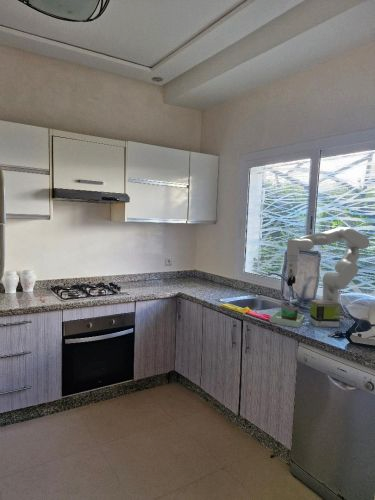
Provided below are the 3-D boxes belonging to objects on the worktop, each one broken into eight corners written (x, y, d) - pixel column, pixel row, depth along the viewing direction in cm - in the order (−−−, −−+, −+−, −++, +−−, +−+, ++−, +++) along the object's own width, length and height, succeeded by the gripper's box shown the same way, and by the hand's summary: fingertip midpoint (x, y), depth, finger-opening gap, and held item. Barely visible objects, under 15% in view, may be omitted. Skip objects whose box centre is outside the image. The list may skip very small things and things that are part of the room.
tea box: (332, 322, 225) (334, 300, 224) (339, 327, 215) (341, 304, 214) (309, 321, 224) (310, 299, 223) (315, 326, 214) (317, 303, 213)
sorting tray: (304, 320, 226) (304, 315, 226) (298, 327, 210) (299, 322, 210) (276, 316, 235) (277, 310, 234) (269, 322, 219) (269, 316, 219)
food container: (275, 319, 223) (276, 304, 222) (280, 317, 228) (281, 302, 227) (293, 324, 215) (295, 308, 214) (298, 322, 219) (299, 306, 218)
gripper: (296, 259, 214) (295, 287, 215) (301, 257, 229) (299, 283, 231) (284, 258, 217) (282, 286, 219) (289, 256, 233) (288, 281, 234)
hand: (291, 284), depth 225 cm, fingers open, 9 cm apart
